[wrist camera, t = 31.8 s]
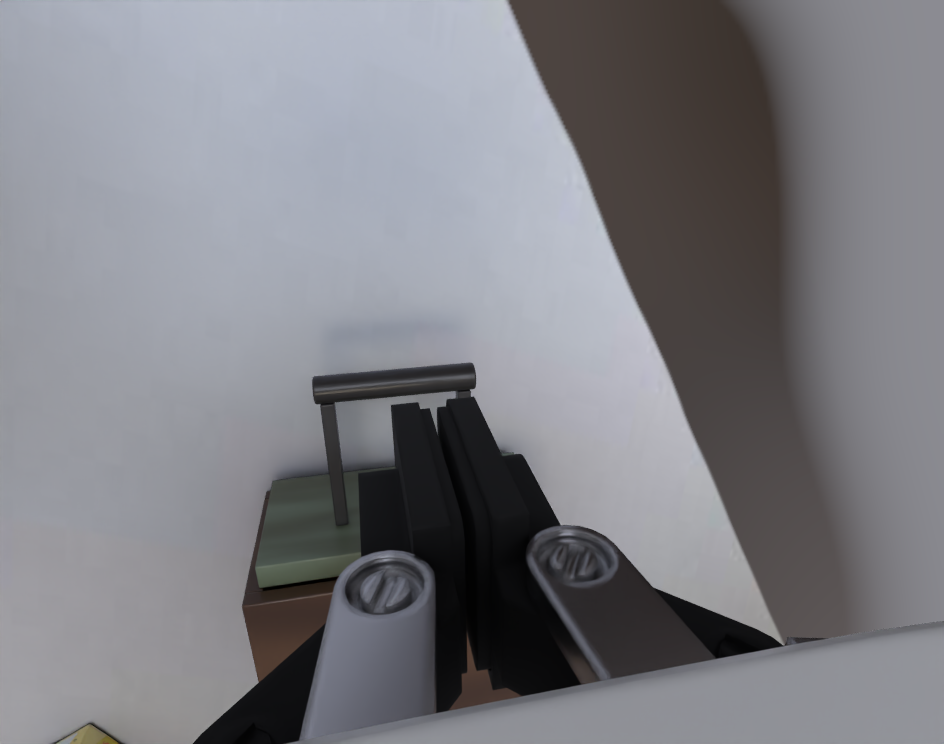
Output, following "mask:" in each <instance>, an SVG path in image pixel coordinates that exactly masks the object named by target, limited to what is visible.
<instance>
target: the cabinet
mask: <svg viewBox="0 0 944 744" xmlns="http://www.w3.org/2000/svg"><path fill="white" fill-rule="evenodd" d="M269 496H270V491H267V492H266V496H265V501H264V505H263V510H262V514H261V519H260V524H259V528H258V533H257V538H256V542H255V547H254V552H253V556H252V561H251V566H250V570H249V575H248V580H247V584H246V589H245V595H244V599H243V604H242V609H243V614H244V618H245V623H246V627H247V632H248V636H249V641H250V645H251V649H252V654H253V658H254V663H255V667H256V672H257V676H258V681H259V682H260V681H261V680H263V679H264V678H265V677H266V676H267V675H268V674H269V673H270V672H271V671H273V670H274V669H275V668H276V667H277V666H278V665H279V664H280V663H282V662H283V661H284V660H285V659H286V658H287V657H288V656H289V655H290V654H292V653H293V652H294V651H295V650H296V649H297V648H298V647H299V646H301V645H302V644H303V643H304V642H305V641H306V640H307V639H308V638H310V637H311V636H312V635H313V634H314V633H315V632H316V631H317V630H318V629H320V628H321V627H322V626H323V625H324V624H325V623H326V621H327V616H328V612H329V608H330V603H331V599H332V594H333V590H334V586H335V584H336V582H337V580H334V581H327V582H320V583H314V584H307V585H300V586H294V587H287V588H283V585H277V586H271V587H264V588H259V585H258V580H257V575H256V570H255V565H256V561H257V556H258V551H259V546H260V541H261V536H262V531H263V526H264V521H265V516H266V511H267V506H268V501H269ZM517 697H522V696H521V695H519V694H517V693H515V692H514V691H512V690H510V689H508V688H503V689H498V690H493V689H492V685H491V682H490V678H489V674H488V670H487V669H486V670H481V671H477V670H476V668H475V664H474V660H473V656H472V652H471V648H470V643H469V639H468V635H467V673H465V674H462V693H461V695H460V696H459V697H458V699H457V700H456V701H455V703H454V704H453V705H452V707H451V708H450V709H449V711H450V710H456V709H461V708H466V707H471V706H476V705H481V704H486V703H491V702H496V701H501V700H507V699H512V698H517Z"/></svg>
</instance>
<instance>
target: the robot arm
mask: <svg viewBox="0 0 944 744" xmlns="http://www.w3.org/2000/svg"><path fill="white" fill-rule="evenodd" d="M391 414H392V427H393V440H394V453H395V467H396V468H395V469H387V470H378V471H370V472H361V473H358V486H359V513H360V540H361V558H359V559H357V560H356V561H354V562H353V563H351V564H350V565H348V566H347V567H346V568H345V570H344V571H343V572H342V573H341V574H340V575H339V577H338V579H337V582H336V584H335V586H334V590H333V594H332V599H331V603H330V608H329V612H328V616H327V621H326V623H325V624H324V625H323V626H322V627H321V628H320V629H318V630H317V631H316V632H315V633H314V634H313V635H312V636H311V637H310V638H308V639H307V640H306V641H305V642H304V643H303V644H302V645H301V646H299V647H298V648H297V649H296V650H295V651H294V652H293V653H292V654H290V655H289V656H288V657H287V658H286V659H285V660H284V661H283V662H282V663H280V664H279V665H278V666H277V667H276V668H275V669H274V670H273V671H271V672H270V673H269V674H268V675H267V676H266V677H265V678H264V679H263V680H261V681H260V682H259V683H258V684H257V685H256V686H255V687H254V688H252V689H251V690H250V691H249V692H248V693H247V694H246V695H245V696H243V697H242V698H241V699H240V700H239V701H238V702H237V703H236V704H235V705H233V706H232V707H231V708H230V709H229V710H228V711H227V712H226V713H224V714H223V715H222V716H221V717H220V718H219V719H218V720H217V721H215V722H214V723H213V724H212V725H211V726H210V727H209V728H208V729H207V730H205V731H204V732H203V733H202V734H201V735H200V736H199V737H198V739H197V740H196V741H195V742H194V743H193V744H944V621H940V622H931V623H924V624H918V625H910V626H904V627H896V628H889V629H881V630H875V631H868V632H862V633H856V634H851V635H845V636H840V637H834V638H798V637H787V640H786V644H785V646H783V645H782V644H780V643H779V642H778V641H777V640H775V639H774V638H773V637H771V636H769V635H767V634H765V633H763V632H761V631H759V630H757V629H755V628H752V627H750V626H747V625H745V624H742V623H740V622H737V621H735V620H732V619H730V618H727V617H725V616H723V615H720V614H718V613H715V612H713V611H710V610H708V609H705V608H703V607H700V606H698V605H695V604H693V603H690V602H688V601H685V600H683V599H680V598H678V597H675V596H673V595H670V594H668V593H665V592H663V591H660V590H658V589H656V588H653V587H652V586H651V585H650V584H649V582H648V581H647V580H646V579H645V578H644V577H643V576H642V574H641V573H640V572H639V571H638V570H637V569H636V568H635V567H634V565H633V564H632V563H631V562H630V561H629V560H628V559H627V558H626V556H625V555H624V554H623V553H622V552H621V551H620V550H619V549H618V547H617V546H616V545H615V544H614V543H613V542H612V541H610V540H609V539H608V538H607V537H606V536H604V535H602V534H600V533H598V532H596V531H594V530H592V529H588V528H584V527H581V526H571V525H562V526H561V525H560V523H559V521H558V519H557V518H556V516H555V514H554V512H553V510H552V508H551V506H550V505H549V503H548V501H547V499H546V497H545V495H544V493H543V492H542V490H541V488H540V486H539V484H538V482H537V480H536V479H535V477H534V475H533V473H532V471H531V469H530V467H529V466H528V464H527V462H526V460H525V458H524V457H523V455H522V454H513V455H505V456H502V454H501V452H500V450H499V448H498V446H497V444H496V442H495V440H494V438H493V435H492V433H491V431H490V429H489V427H488V425H487V423H486V421H485V419H484V416H483V414H482V412H481V410H480V408H479V406H478V404H477V402H476V400H475V398H474V397H467V398H456V399H447V401H446V407H437V427H438V435H437V431H436V428H435V425H434V421H433V418H432V415H431V411H430V408H427V409H420V407H419V403H418V402H416V403H406V404H396V405H391ZM467 635H468V639H469V643H470V648H471V652H472V656H473V660H474V664H475V668H476V670H477V671H481V670H486V669H487V670H488V674H489V678H490V682H491V685H492V689H493V690H498V689H503V688H508V689H510V690H512V691H514V692H515V693H517V694H519V695H521V696H522V697H517V698H512V699H507V700H501V701H496V702H491V703H486V704H481V705H476V706H471V707H466V708H461V709H456V710H450V711H449V709H450V708H451V707H452V705H453V704H454V703H455V701H456V700H457V699H458V697H459V696H460V695H461V693H462V674H465V673H467Z"/></svg>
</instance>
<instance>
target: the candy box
mask: <svg viewBox="0 0 944 744" xmlns="http://www.w3.org/2000/svg"><path fill="white" fill-rule="evenodd" d="M56 744H119V743H118V742H116V741H115V740H113V739H112V738H110V737H109V736H108V735H106V734H105V733H103V732H101V731H100V730H98V729H97V728H95V727H94V726H93V725H91V724H88V725H87V726H85V727H83V728H81V729H80V730H78V731H76V732H75V733H73V734H71V735H70V736H68V737H66V738H65V739H63V740H61V741H60V742H58V743H56Z"/></svg>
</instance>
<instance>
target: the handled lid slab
mask: <svg viewBox="0 0 944 744" xmlns="http://www.w3.org/2000/svg"><path fill="white" fill-rule="evenodd" d="M312 387H313V397H314V402H315V404H321V405H320V408H321V415H322V423H323V431H324V438H325V446H326V454H327V461H328V469H329V474H326V475H317V476H309V477H300V478H292V479H283V480H275V481H273V482H272V487H271V491H270V496H269V501H268V506H267V511H266V516H265V521H264V526H263V531H262V536H261V541H260V546H259V551H258V556H257V561H256V565H255V570H256V575H257V580H258V585H259V588H264V587H271V586H277V585H283V588H287V587H294V586H300V585H307V584H314V583H320V582H327V581H330V578H331V577H338V576H339V575H340V574H341V573H342V572H343V571H344V570H345V568H346V567H347V566H348V565H350V564H351V563H353V562H354V561H356V560H357V559H359V558H361V540H360V513H359V486H358V473H361V472H370V471H378V470H387V469H395V468H396V467H395V466H394V467H385V468H377V469H368V470H360V471H351V472H343V466H342V458H341V449H340V441H339V432H338V424H337V415H336V407H335V402H345V401H356V400H366V399H376V398H387V397H397V396H408V395H418V394H428V393H439V392H449V391H456V398H467V397H471V391H470V389H475V387H476V373H475V368H474V365H473V363H461V364H450V365H438V366H427V367H416V368H404V369H393V370H382V371H370V372H359V373H348V374H336V375H325V376H314V377H313V379H312ZM513 454H514V453H513V452H512V453H504V454H502V456H505V455H513Z"/></svg>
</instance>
